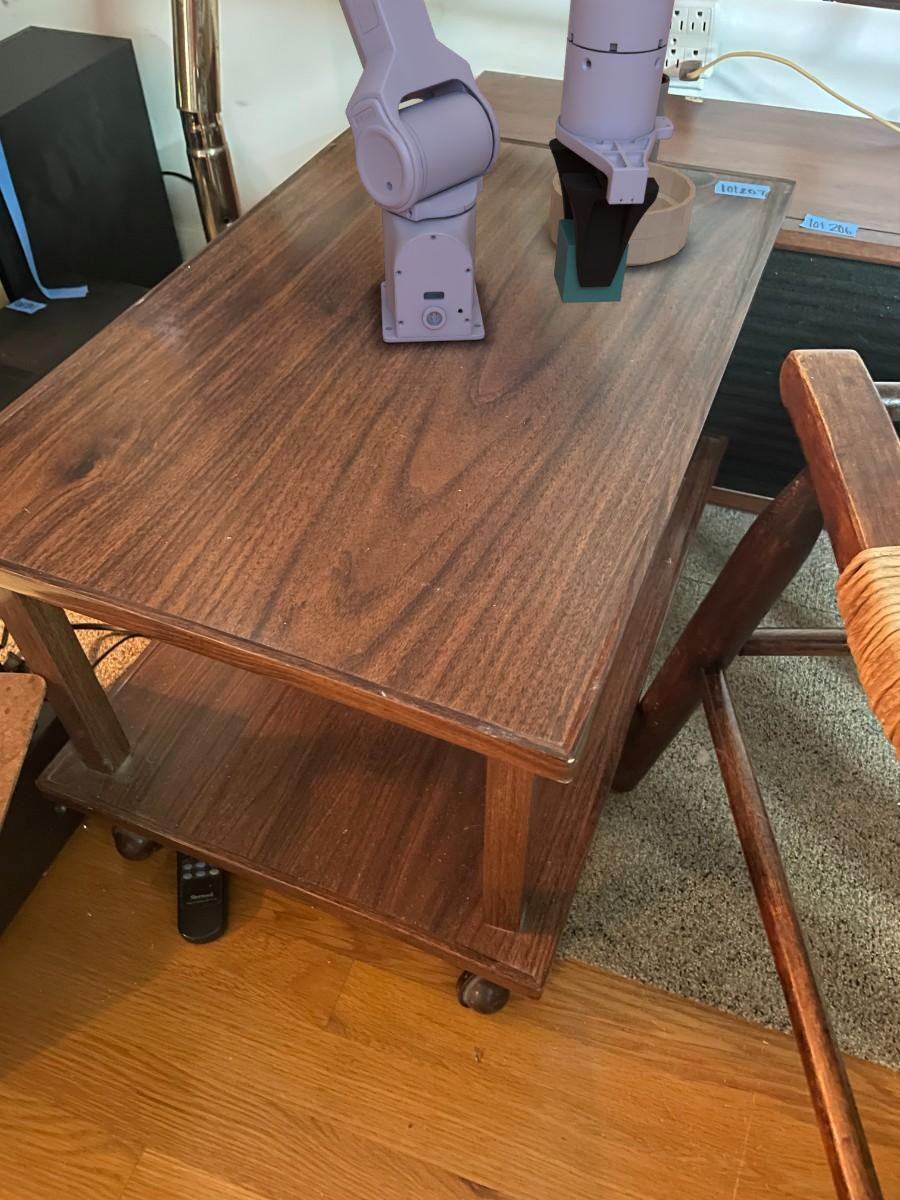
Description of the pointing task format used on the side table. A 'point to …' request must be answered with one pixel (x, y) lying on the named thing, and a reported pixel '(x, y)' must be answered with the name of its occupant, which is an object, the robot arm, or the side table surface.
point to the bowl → (648, 217)
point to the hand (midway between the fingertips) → (588, 269)
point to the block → (568, 272)
